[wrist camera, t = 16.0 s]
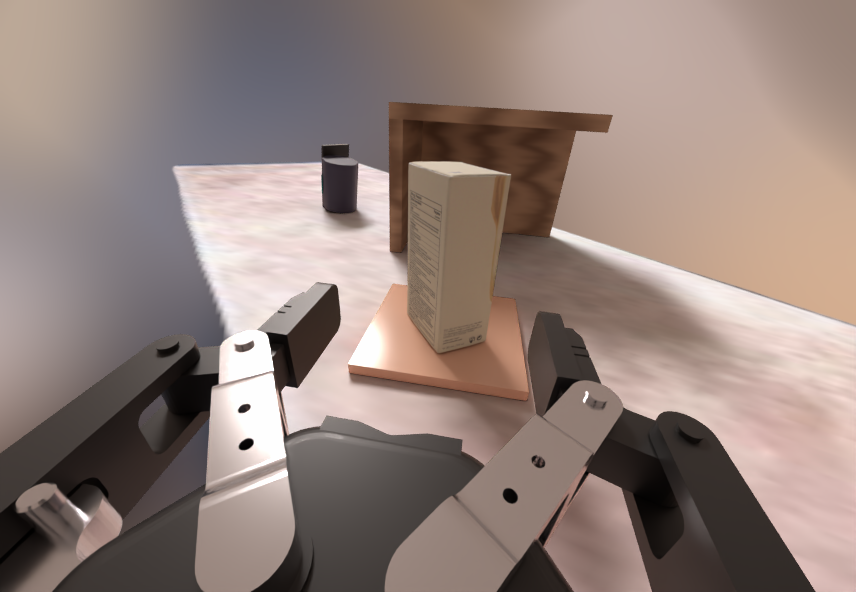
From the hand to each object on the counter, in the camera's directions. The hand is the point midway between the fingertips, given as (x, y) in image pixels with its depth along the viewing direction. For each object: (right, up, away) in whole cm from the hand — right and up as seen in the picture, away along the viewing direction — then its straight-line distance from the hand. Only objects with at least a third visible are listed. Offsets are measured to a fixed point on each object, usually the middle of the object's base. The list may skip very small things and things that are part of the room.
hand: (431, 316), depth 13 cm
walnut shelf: (+7, +9, +33) cm, 35 cm away
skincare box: (+1, -2, +13) cm, 14 cm away
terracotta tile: (+1, -2, +14) cm, 14 cm away
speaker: (-15, +16, +45) cm, 50 cm away
